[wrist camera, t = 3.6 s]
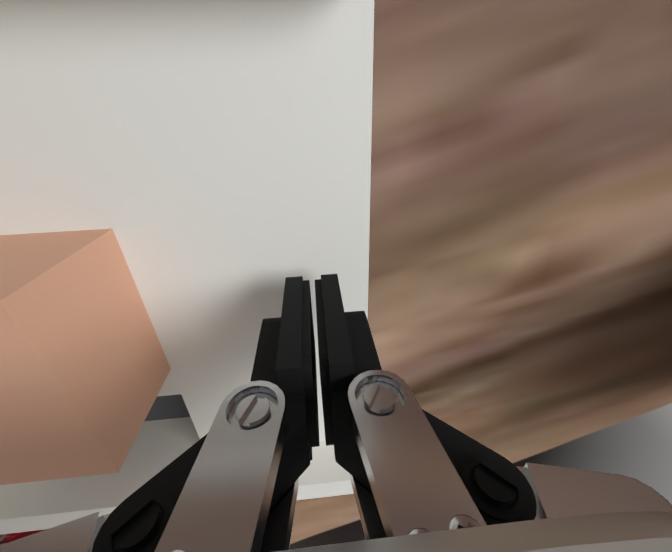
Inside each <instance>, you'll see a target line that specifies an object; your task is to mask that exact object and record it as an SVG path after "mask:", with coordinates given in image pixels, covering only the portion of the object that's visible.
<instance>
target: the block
mask: <svg viewBox="0 0 672 552" xmlns="http://www.w3.org/2000/svg"><path fill="white" fill-rule="evenodd" d="M170 370H171V368H170V366H169V364H168V361H167V359H166V356H165V354H164V352H163V349H162V347H161V344H160V342H159V340H158V337H157V335H156V332H155V330H154V327H153V325H152V323H151V320H150V318H149V315H148V313H147V311H146V308H145V306H144V303H143V301H142V299H141V296H140V294H139V291H138V289H137V287H136V284H135V282H134V279H133V277H132V274H131V272H130V270H129V267H128V265H127V262H126V260H125V258H124V255H123V253H122V250H121V248H120V246H119V243H118V241H117V238H116V236H115V234H114V231H113V229H95V230H79V231H62V232H46V233H30V234H13V235H0V485H7V484H16V483H25V482H35V481H44V480H53V479H63V478H72V477H81V476H91V475H100V474H109V473H118V472H119V470H120V468H121V467H122V465H123V463H124V461H125V459H126V457H127V455H128V453H129V451H130V449H131V447H132V445H133V443H134V441H135V439H136V437H137V435H138V433H139V431H140V429H141V427H142V425H143V423H144V421H145V419H146V417H147V415H148V413H149V411H150V409H151V407H152V405H153V403H154V401H155V399H156V397H157V395H158V393H159V391H160V389H161V387H162V385H163V383H164V381H165V379H166V377H167V375H168V373H169V372H170Z"/></svg>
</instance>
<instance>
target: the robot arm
mask: <svg viewBox="0 0 672 552" xmlns="http://www.w3.org/2000/svg"><path fill="white" fill-rule="evenodd" d="M315 298H316V316H317V334H318V353H319V368H320V381H321V393H322V405H323V417H324V429H325V441H326V446H328V445H334V454H335V460H336V462H337V463H338V464H339V465H340V466H341V467H343V468H344V469H345V470H346V471H347V472H349V473H350V480H351V484H352V488H353V492H354V496H355V499H356V503H357V507H358V511H359V514H360V518H361V522H362V526H363V529H364V533H365V537H366V540H363V541H356V542H347V543H339V544H332V545H324V546H315V547H308V548H299V549H292V550H289V545H290V539H291V532H292V526H293V519H294V513H295V506H296V500H297V493H298V487H299V477H300V476H301V475H302V473H303V472H304V471H305V470H306V469H307V468H308V467H309V465H310V460H312V447H318V446H319V420H318V397H317V374H316V351H315V338H314V327H313V316H312V304H311V293H310V282H309V280H303V277H302V276H298V277H286V278H285V287H284V296H283V305H282V314H281V317H278V318H265V319H263V320H262V324H261V329H260V334H259V339H258V344H257V350H256V355H255V360H254V365H253V370H252V375H251V380H250V382H248V383H245V384H242V385H241V386H239V387H237V388H236V389H234V390H233V391H232V392H230V393H229V394H228V395H227V396H226V397H225V399H224V401H223V402H222V404H221V405H220V408H219V410H218V412H217V414H216V416H215V419H214V421H213V423H212V425H211V427H210V430H209V432H208V433H207V434H206V435H205V436H204V437H202V438H201V439H200V440H199V441H197V442H196V443H195V444H194V445H192V446H191V447H190V448H189V449H187V450H186V451H185V452H184V453H182V454H181V455H180V456H179V457H177V458H176V459H175V460H174V461H172V462H171V463H170V464H169V465H167V466H166V467H165V468H164V469H162V470H161V471H160V472H159V473H157V474H156V475H155V476H154V477H152V478H151V479H150V480H149V481H147V482H146V483H145V484H144V485H142V486H141V487H140V488H139V489H137V490H136V491H135V492H134V493H132V494H131V495H130V496H129V497H127V498H126V499H125V500H124V501H123V502H122V503H121V504H120V505H119V506H118V507H116V508H115V509H114V510H113V511H112V513H109V514H106V515H102V513H101V512H100V511H99V512H96V513H93V514H90V515H87V516H85V517H82V518H79V519H76V520H73V521H70V522H67V523H64V524H61V525H58V526H55V527H52V528H49V529H47V530H44V531H41V532H38V533H35V534H32V535H29V536H26V537H23V538H20V539H17V540H14V541H11V542H9V543H6V544H3V545H0V552H672V505H671V504H670V503H669V501H668V500H667V499H665V498H664V497H663V496H662V495H660V494H659V493H658V492H657V491H655V490H654V489H653V488H652V487H650V486H648V485H646V484H644V483H642V482H640V481H639V480H637V479H634V478H631V477H627V476H624V475H619V474H611V473H604V472H596V471H588V470H580V469H572V468H564V467H557V466H549V465H541V464H533V463H526V465H525V467H519V466H515V465H514V464H512V463H511V462H510V461H508V460H507V459H506V458H504V457H503V456H501V455H499V454H498V453H496V452H494V451H492V450H491V449H489V448H487V447H486V446H484V445H482V444H480V443H479V442H477V441H475V440H474V439H472V438H470V437H468V436H467V435H465V434H463V433H462V432H460V431H458V430H457V429H455V428H453V427H451V426H450V425H448V424H446V423H445V422H443V421H441V420H439V419H438V418H436V417H434V416H433V415H431V414H429V413H427V412H426V411H424V410H422V409H421V407H420V405H419V404H418V402H417V400H416V398H415V396H414V395H413V393H412V391H411V389H410V387H409V386H408V385H407V384H406V382H405V381H404V380H403V379H402V378H400V377H399V376H398V375H396V374H394V373H391V372H389V371H384V370H382V369H381V366H380V362H379V359H378V355H377V352H376V348H375V345H374V341H373V338H372V335H371V331H370V328H369V324H368V321H367V317H366V314H365V311H352V312H344V307H343V302H342V297H341V291H340V286H339V281H338V276H337V274H326V275H321V279H316V280H315Z"/></svg>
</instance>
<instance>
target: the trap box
mask: <svg viewBox="0 0 672 552" xmlns="http://www.w3.org/2000/svg"><path fill="white" fill-rule="evenodd" d="M373 34H374V0H0V235H13V234H30V233H46V232H62V231H79V230H95V229H113V231H114V234H115V236H116V238H117V241H118V243H119V246H120V248H121V250H122V253H123V255H124V258H125V260H126V262H127V265H128V267H129V270H130V272H131V274H132V277H133V279H134V282H135V284H136V287H137V289H138V291H139V294H140V296H141V299H142V301H143V303H144V306H145V308H146V311H147V313H148V315H149V318H150V320H151V323H152V325H153V327H154V330H155V332H156V335H157V337H158V340H159V342H160V344H161V347H162V349H163V352H164V354H165V356H166V359H167V361H168V364H169V366H170V368H171V370H170V372H169V373H168V375H167V377H166V379H165V381H164V383H163V385H162V387H161V389H160V391H159V393H158V395H157V397H156V399H155V401H154V403H153V405H152V407H151V409H150V411H149V413H148V415H147V417H146V419H145V421H144V423H143V425H142V427H141V429H140V431H139V433H138V435H137V437H136V439H135V441H134V443H133V445H132V447H131V449H130V451H129V453H128V455H127V457H126V459H125V461H124V463H123V465H122V467H121V468H120V470H119V472H118V473H109V474H100V475H91V476H81V477H72V478H63V479H53V480H44V481H35V482H25V483H16V484H7V485H0V535H2V534H10V533H19V532H27V531H36V530H45V529H49V528H52V527H55V526H58V525H61V524H64V523H67V522H70V521H73V520H76V519H79V518H82V517H85V516H87V515H90V514H93V513H96V512H99V511H100V512H101V513H102V515H106V514H109V513H112V511H113V510H114V509H115V508H116V507H118V506H119V505H120V504H121V503H122V502H123V501H124V500H125V499H126V498H127V497H129V496H130V495H131V494H132V493H134V492H135V491H136V490H137V489H139V488H140V487H141V486H142V485H144V484H145V483H146V482H147V481H149V480H150V479H151V478H152V477H154V476H155V475H156V474H157V473H159V472H160V471H161V470H162V469H164V468H165V467H166V466H167V465H169V464H170V463H171V462H172V461H174V460H175V459H176V458H177V457H179V456H180V455H181V454H182V453H184V452H185V451H186V450H187V449H189V448H190V447H191V446H192V445H194V444H195V443H196V442H197V441H199V440H200V439H201V438H202V437H204V436H205V435H206V434H207V433H208V432H209V430H210V427H211V425H212V423H213V421H214V419H215V416H216V414H217V412H218V410H219V408H220V405H221V404H222V402H223V401H224V399H225V397H226V396H227V395H228V394H229V393H230V392H232V391H233V390H234V389H236V388H237V387H239V386H241V385H242V384H245V383H248V382H250V380H251V375H252V370H253V365H254V360H255V355H256V350H257V344H258V339H259V334H260V329H261V324H262V320H263V319H265V318H278V317H281V314H282V305H283V296H284V287H285V278H286V277H298V276H302V277H303V280H309V282H310V293H311V304H312V316H313V327H314V338H315V351H316V374H317V397H318V420H319V446H318V447H312V460H310V465H309V467H308V468H307V469H306V470H305V471H304V472H303V473H302V475H301V476H300V477H299V487H298V493H297V500H303V499H311V498H320V497H329V496H337V495H346V494H354V492H353V488H352V484H351V480H350V473H349V472H347V471H346V470H345V469H344V468H343V467H341V466H340V465H339V464H338V463H337V462H336V460H335V454H334V445H328V446H326V441H325V429H324V417H323V405H322V393H321V381H320V368H319V353H318V334H317V316H316V298H315V280H316V279H321V275H326V274H337V276H338V281H339V286H340V291H341V297H342V302H343V307H344V312H352V311H365V314H366V317H367V319H368V271H369V224H370V176H371V129H372V82H373Z"/></svg>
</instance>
